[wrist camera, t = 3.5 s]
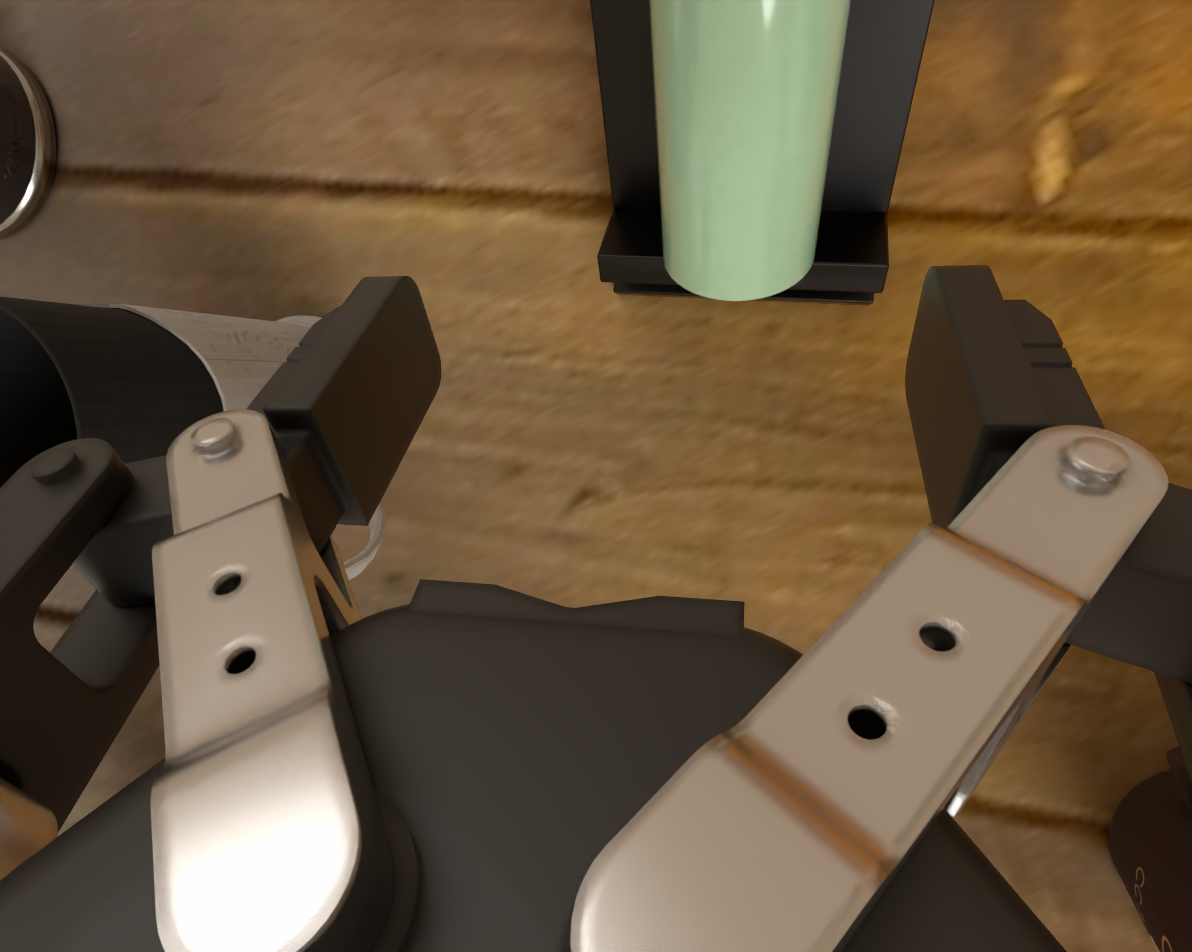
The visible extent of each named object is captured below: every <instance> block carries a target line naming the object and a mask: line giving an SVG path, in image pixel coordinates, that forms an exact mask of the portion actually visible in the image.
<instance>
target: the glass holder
mask: <svg viewBox="0 0 1192 952" xmlns="http://www.w3.org/2000/svg"><path fill="white" fill-rule="evenodd" d="M320 319H322V317H317V316H306V315H297V316H292V317H286V318H282V319H280V320H277V321H267V320H258V319H249V318H240V317H232V316H223V315H214V314H205V313H196V312H188V311H179V310H170V309H161V308H152V307H144V306H135V305H126V304H64V303H55V302H45V301H36V300H26V299H17V298H7V297H0V488H1V487H2V486H3V485H4V484H5V483H6V482H7V481H8V480H9V479H10V477H11V476H12V475H13V474H14V473H15V472H16V471H17V470H18V469H20V468H21V467H22V466H23V465H24V464H25V463H27V462H28V461H29V460H31V459H32V458H34V457H35V456H37V455H38V454H40V453H42V452H44V451H46V450H48V449H50V448H52V447H54V446H57V445H59V444H62V443H65V442H69V441H72V440H77V439H83V438H97V439H102V440H104V441H106V442H108V443H109V444H110V445H111V447H112V448H113V449H114V451H115V452H116V453H117V454H118V456H119V457H120V458H121V460H122V461H123V462H124V463H125V464H126V463H131V462H136V461H141V460H146V459H151V458H156V457H161V456H166V455H167V452H168V449H169V447H170V445H171V444H172V442H173V441H174V440H175V439H176V438H177V437H178V436H179V435H180V434H181V433H182V432H183V431H184V430H186V429H187V428H188V427H190V426H191V425H193V424H195V423H196V422H198V421H200V420H202V419H204V418H206V417H209V416H211V415H214V414H217V413H220V412H224V411H228V410H236V409H247V407H248V406H249V405H250V403H251V402H252V401H253V400H254V398H255V397H256V396H257V395H258V393H259V392H260V391H261V390H262V388H263V387H264V386H265V385H266V383H267V382H268V381H269V380H270V378H271V377H272V376H273V375H274V373H275V372H276V371H277V370H278V368H279V367H280V366H281V364H282V363H283V362H287V359H286V358H287V357H288V356H289V354H290V353H291V352H292V351H293V349H294V348H295V347H299V342H300V341H301V339H302V338H303V337H304V336H305V334H306V333H307V332H308V331H309V329H310V328H311V327H312V325H313V324H314V323H316V322H317V321H319V320H320ZM385 522H386V517H385V514H384V512H383V509H382V507H381V505H380V503H379V505H378V507H377V508H376V510H375V512H374V514H373V516H372V518H371V520H370V522H369V526H370V539H369V542H368V545H367V546H366V547H365V548H364V549H363V550H362V551H361V552H360V553H359V554H358V555H356V556H354V557H352V558H351V559H349V560H347V561H345V562H344V563H343V565H344V568H345V571H346V574H347V577H348V580H350V579H352V578H353V577H355V576H357V575H358V574H360V573H361V572H362V571H363V570H364V569H365V567H366V566H367V565H368V564H369V563H370V562H371V561H372V559H373V558H374V557H375V556H376V553H377V551H378V549H379V547H380V544H381V541H382V538H383V536H384V531H385Z"/></svg>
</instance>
